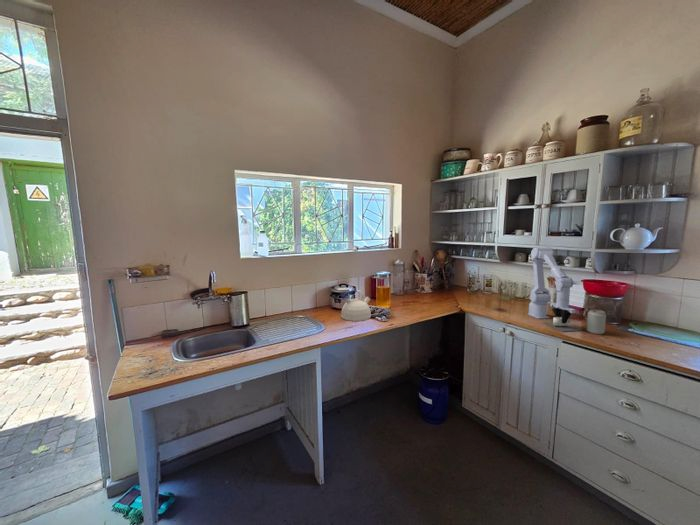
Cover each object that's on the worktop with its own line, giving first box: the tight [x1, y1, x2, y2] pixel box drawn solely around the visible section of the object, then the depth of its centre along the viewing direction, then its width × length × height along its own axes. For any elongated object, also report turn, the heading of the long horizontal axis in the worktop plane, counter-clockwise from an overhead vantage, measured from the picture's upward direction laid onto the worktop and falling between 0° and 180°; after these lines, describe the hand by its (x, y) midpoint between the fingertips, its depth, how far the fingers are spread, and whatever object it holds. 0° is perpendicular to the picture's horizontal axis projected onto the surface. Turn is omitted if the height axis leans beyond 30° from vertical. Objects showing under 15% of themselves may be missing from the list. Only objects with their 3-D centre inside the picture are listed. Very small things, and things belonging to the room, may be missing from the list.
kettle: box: [340, 289, 372, 322], centre depth 189 cm, size 20×21×18 cm
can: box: [586, 309, 607, 335], centre depth 152 cm, size 8×8×12 cm
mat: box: [543, 321, 581, 333], centre depth 162 cm, size 14×10×1 cm
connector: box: [552, 316, 572, 326], centre depth 161 cm, size 9×3×4 cm, turn 95°
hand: (561, 321), depth 161 cm, fingers closed on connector, 3 cm apart
